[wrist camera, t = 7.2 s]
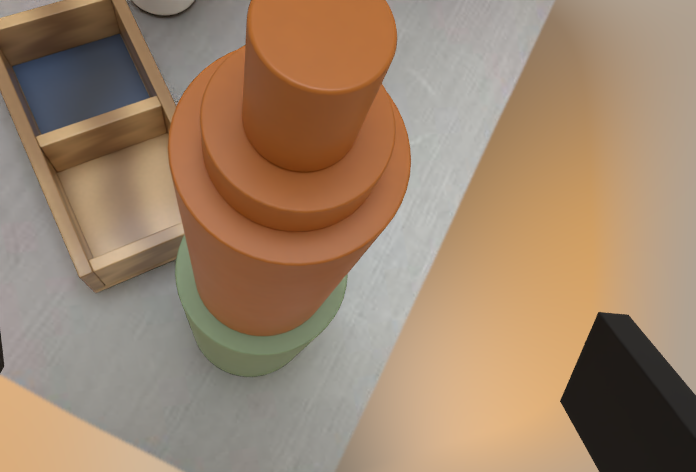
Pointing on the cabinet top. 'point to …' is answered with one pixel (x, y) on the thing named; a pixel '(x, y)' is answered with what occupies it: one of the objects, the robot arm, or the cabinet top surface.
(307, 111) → the bottle
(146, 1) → the drinking glass
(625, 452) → the robot arm
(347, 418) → the cabinet top surface
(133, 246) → the wooden divided box
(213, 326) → the stand
